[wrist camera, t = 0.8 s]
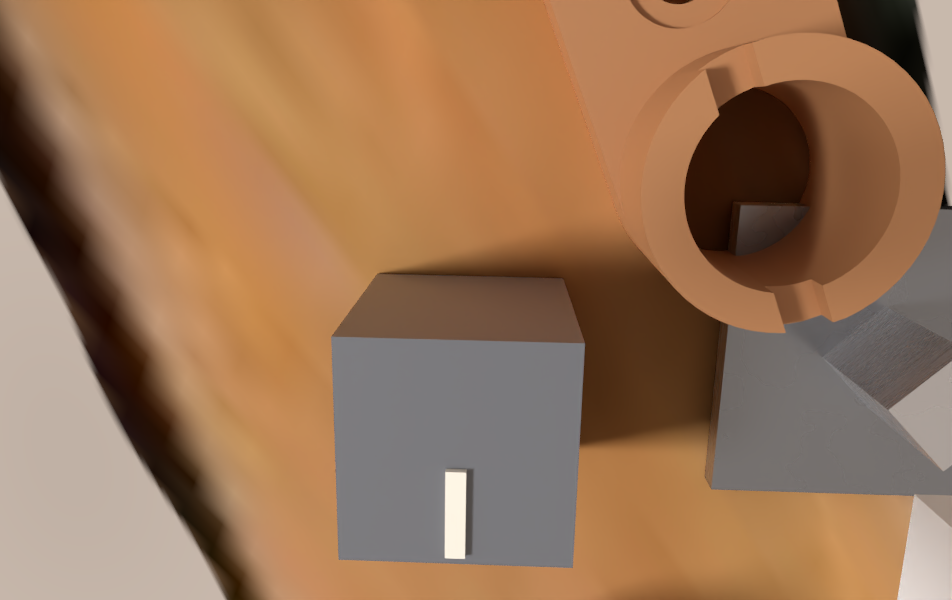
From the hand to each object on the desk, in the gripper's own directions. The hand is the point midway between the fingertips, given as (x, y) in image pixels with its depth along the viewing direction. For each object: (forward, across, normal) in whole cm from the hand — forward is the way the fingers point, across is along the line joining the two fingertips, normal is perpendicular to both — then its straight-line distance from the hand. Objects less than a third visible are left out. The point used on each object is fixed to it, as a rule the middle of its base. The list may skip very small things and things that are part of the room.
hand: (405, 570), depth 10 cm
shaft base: (+19, +15, -2) cm, 25 cm away
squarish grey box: (+19, 0, -3) cm, 20 cm away
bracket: (+20, +7, +9) cm, 23 cm away
